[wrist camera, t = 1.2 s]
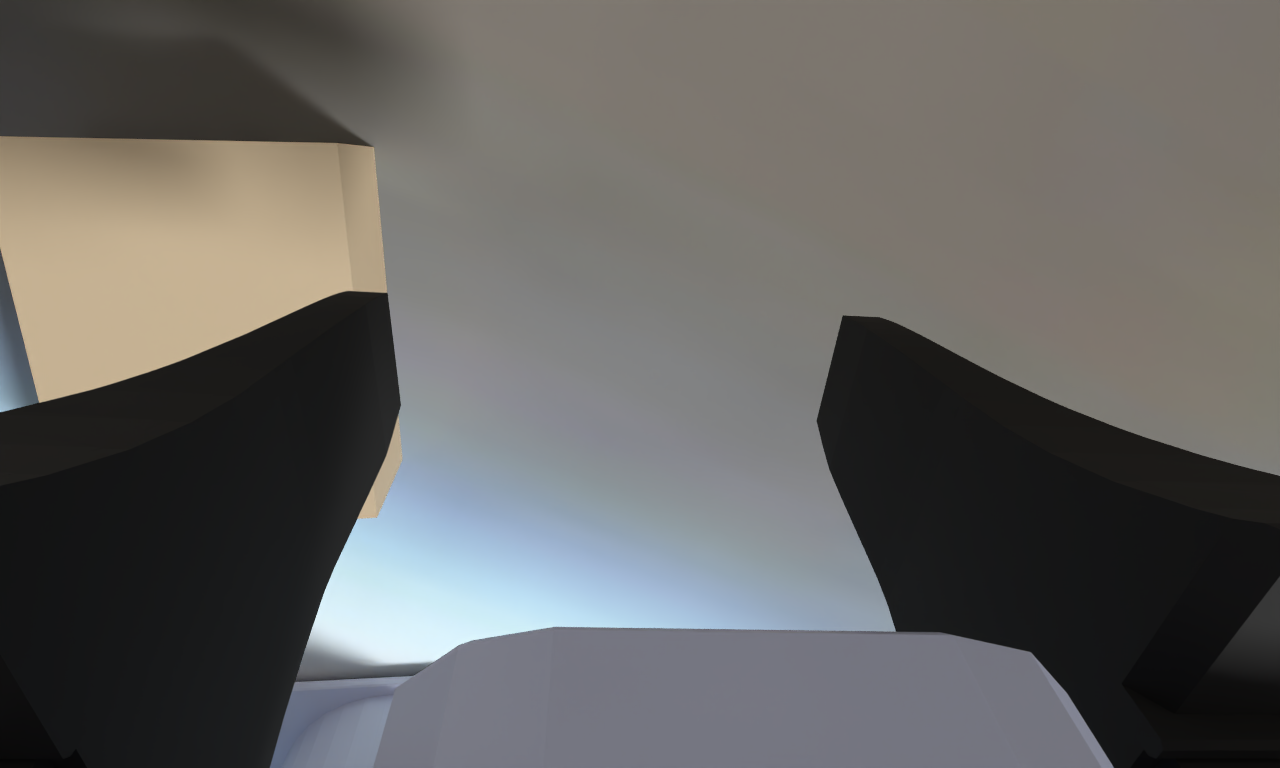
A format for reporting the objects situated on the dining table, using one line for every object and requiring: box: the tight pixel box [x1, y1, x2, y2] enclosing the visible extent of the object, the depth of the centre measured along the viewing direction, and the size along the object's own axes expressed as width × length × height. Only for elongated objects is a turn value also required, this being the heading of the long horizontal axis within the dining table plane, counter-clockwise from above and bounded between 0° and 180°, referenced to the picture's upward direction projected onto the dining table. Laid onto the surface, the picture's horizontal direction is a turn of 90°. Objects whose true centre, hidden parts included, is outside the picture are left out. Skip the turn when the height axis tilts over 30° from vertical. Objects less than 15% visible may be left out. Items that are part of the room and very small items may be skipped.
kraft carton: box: [0, 136, 402, 519], centre depth 18 cm, size 9×7×4 cm
